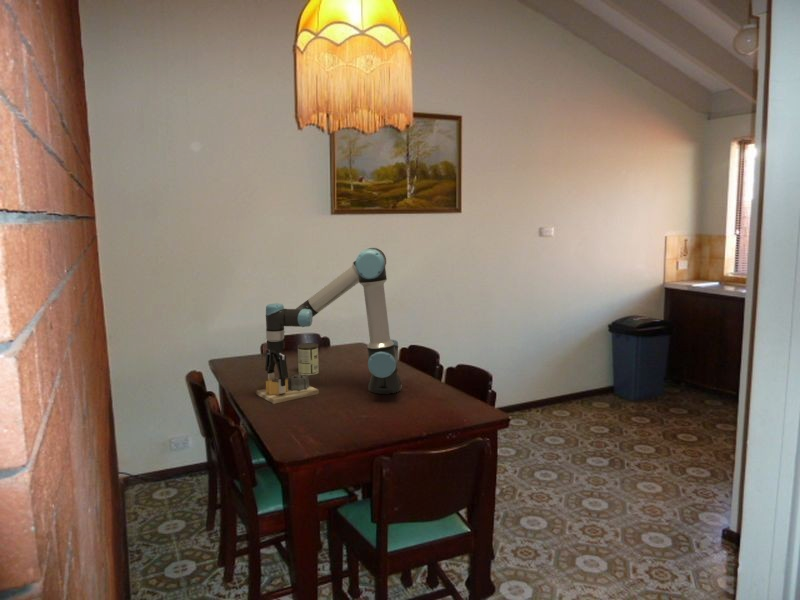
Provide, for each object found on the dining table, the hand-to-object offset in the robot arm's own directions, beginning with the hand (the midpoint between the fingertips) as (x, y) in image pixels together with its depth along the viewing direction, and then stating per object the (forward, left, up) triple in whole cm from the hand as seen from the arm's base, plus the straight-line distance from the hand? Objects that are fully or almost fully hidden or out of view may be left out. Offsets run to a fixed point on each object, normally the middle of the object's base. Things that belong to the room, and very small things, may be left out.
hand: (276, 390), depth 252 cm
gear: (0, 0, -1) cm, 1 cm away
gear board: (0, -5, -3) cm, 6 cm away
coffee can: (+25, -30, -3) cm, 39 cm away
